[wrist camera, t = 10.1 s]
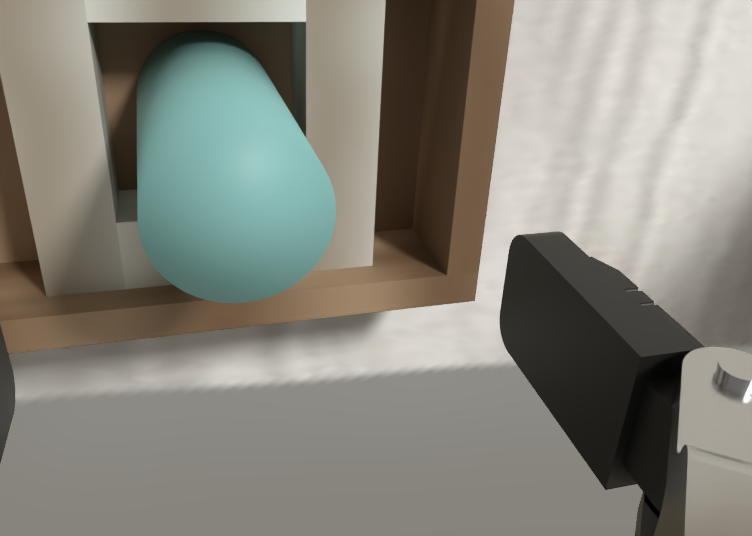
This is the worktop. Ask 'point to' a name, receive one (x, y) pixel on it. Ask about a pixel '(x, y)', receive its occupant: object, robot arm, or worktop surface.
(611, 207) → the worktop surface
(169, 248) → the peg
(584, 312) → the robot arm
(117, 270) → the box
